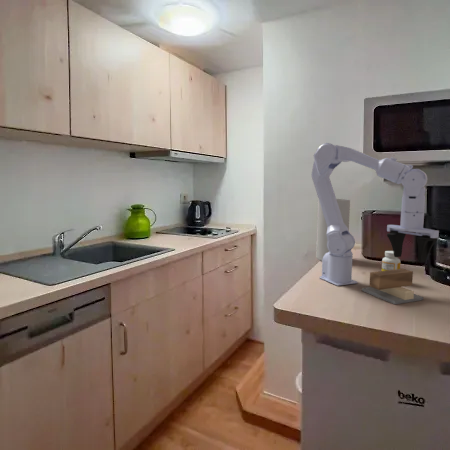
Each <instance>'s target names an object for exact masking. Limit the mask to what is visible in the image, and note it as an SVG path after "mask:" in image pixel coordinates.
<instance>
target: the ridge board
mask: <svg viewBox="0 0 450 450" xmlns="http://www.w3.org/2000/svg"><path fill="white" fill-rule="evenodd" d="M361 292H364V293H365V294H369V295H372V297H373V296H374V297H375V298H378V299H381V300H383V301H386V302H388V303H390V304H393V305H401V304H405V303H412V302H418V301H419V302H420V301H423V300H424V296H421V295H418V294H415V291H414V290H411V289H408V288H405V287H404V286H403V287H396V288H389V289H382V290H378V289H375V288H373V287H370V286H369V287H368V286H367V287H362V288H361Z"/></svg>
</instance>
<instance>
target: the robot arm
mask: <svg viewBox="0 0 450 450" xmlns="http://www.w3.org/2000/svg"><path fill="white" fill-rule="evenodd" d="M342 162H343V163H348V162H352V163H354V164H359V165H360V166H362V167H363V166H364V167H365V168H369V169H372V170H374V171H375V173H376V176H377V177H379V178H382V179H383V180H386V181H389V182H391V183H394V184H396V185H402V187H403V190H402V196H401V208H400V209H401V211H400V225H398V224H387V226H386V231H387V232H389V233H387V234H386V236H387V238H388V240H389V243H390V245H391V247H392V251H393V252H394V257H398V258H401V257H402V253H403V245H404V240H405V238H406V235H412V236H417V237H416V243H417V249H418V251H417V262H418V263H420V264H421V263H426V261H427V258H428V256H429V254H430V252H431V250H432V247H433V246H434V245H435V244H436V242H437V240H438V238H439V237H440V236H439V235H440V234H439V233H440V230H438V229H437V230H435V229H431V228H425V227H424V221H425V220H424V219H425V207H426V191H427V190H426V187H425V186H426V185H427V183H428V175H427V174H426V172H425V171H423V170H421V169H420V168H414V164H413V165H412V164H410V163H409V164H405V163H403V162H400V161H397V158H395V157H393V156H391V157H385V158H382V159H378V158H376V157H373V156H371V155H368V154H366V153H364V152H361V151H360V150H356V149H354V148H351V147H347V146H342V145H338V144H333V143H330V142H324V143H322V144H320V146H318V147H317V149H316V151H315V152H314V154H313V166H312V171H311V178H312V179H311V180H312V182H313V185H314V188H315V191H316V196H317V198H318V199H319V202H320V205H321V208H322V211H323V214H324V218H325V221H326V224H327V233H326V235H327V239H328V241H327V248H328V250H329V252H328V253H326V254H325V255H324V256H323V259H322V261H321V262H322V263H321V276H319V279H322V281H326V282H327V283H330V284H333V285H335V286H344V285H346V286H347V285H354V284H358V283H359V282H358V280H357V281H356V280H355V279H352V278H353V277H352V276H353V275H352V274H353V255H354V253H353V251H352V249H353V248H354V247H355V245H356V244H355V243H356V240H355V238H354V236H353V235H352V233H351V232H350V229H349V230H348V228H347V226H346V225H345V224H344V222H343V219H342V216H341V213H340V209H339V206H338V203H337V200H336V199H337V197H336V193H335V191H334V188H333V185H332V182H331V178H330V177H331V174H332V173H333V171H334V170H335V169H336V168H337V167H338V166H339V165H340V164H342Z"/></svg>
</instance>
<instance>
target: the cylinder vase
mask: <svg viewBox="0 0 450 450" xmlns="http://www.w3.org/2000/svg"><path fill="white" fill-rule="evenodd" d="M336 200H337V203H338V206H339V209H340V213H341V216H342V219H343V222H344V224H345V225H346V226H347V228H348V230H349V231H350V211H351V209H350V208H351V199H347V198H336ZM326 233H327V224H326V221H325V218H324V214H323V211H322V208H321V205H320V202H319V198H318V199H317V217H316V244H315V246H316V248H315V252H316V253H315V258H316V259H317V260H319V261H321V262H322V259H323V256H324V255H325V254H326V253H328V252H329V250H328V248H327V241H328V239H327V235H326Z"/></svg>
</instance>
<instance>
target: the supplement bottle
mask: <svg viewBox="0 0 450 450" xmlns="http://www.w3.org/2000/svg"><path fill="white" fill-rule="evenodd" d="M395 269H401V259H400V258H399V257H394V252H393V250H385V251H384V257H382V260H381V271H387V270H395Z"/></svg>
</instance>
